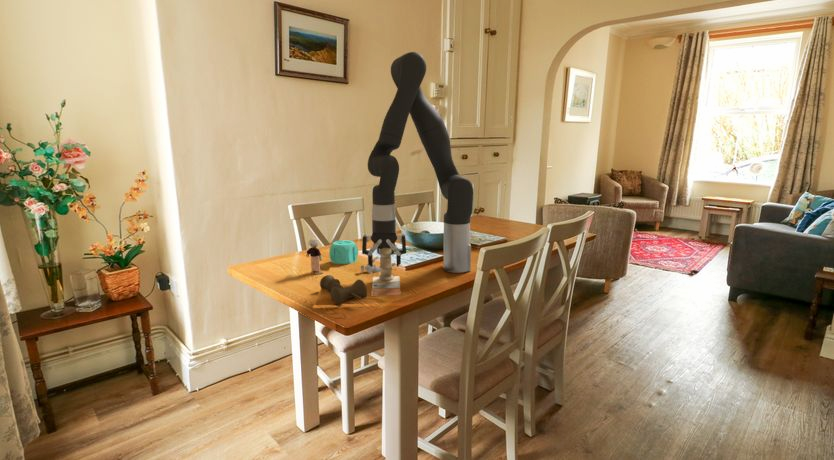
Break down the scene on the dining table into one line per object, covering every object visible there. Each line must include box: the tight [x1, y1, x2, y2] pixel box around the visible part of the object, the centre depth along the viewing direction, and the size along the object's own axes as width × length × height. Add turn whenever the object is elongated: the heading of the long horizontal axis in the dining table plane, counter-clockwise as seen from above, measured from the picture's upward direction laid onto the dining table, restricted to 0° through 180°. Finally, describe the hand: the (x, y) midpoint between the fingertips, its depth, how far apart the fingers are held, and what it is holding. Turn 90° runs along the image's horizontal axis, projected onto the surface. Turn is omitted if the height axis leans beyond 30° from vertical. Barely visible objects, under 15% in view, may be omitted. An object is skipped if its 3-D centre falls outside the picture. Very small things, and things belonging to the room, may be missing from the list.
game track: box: [370, 275, 401, 297], centre depth 141 cm, size 10×18×1 cm, turn 3°
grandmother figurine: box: [306, 237, 324, 275], centre depth 156 cm, size 8×4×13 cm, turn 65°
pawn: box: [378, 248, 394, 281], centre depth 146 cm, size 4×4×11 cm
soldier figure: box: [360, 256, 397, 275], centre depth 155 cm, size 8×5×12 cm
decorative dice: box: [329, 239, 359, 265], centre depth 168 cm, size 8×8×8 cm
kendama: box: [319, 274, 368, 307], centre depth 133 cm, size 6×10×20 cm
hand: (384, 266), depth 146 cm, fingers open, 8 cm apart
